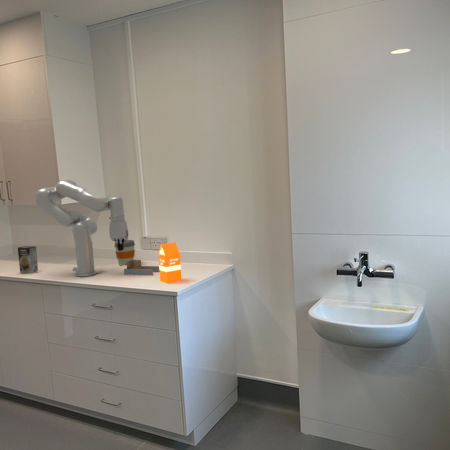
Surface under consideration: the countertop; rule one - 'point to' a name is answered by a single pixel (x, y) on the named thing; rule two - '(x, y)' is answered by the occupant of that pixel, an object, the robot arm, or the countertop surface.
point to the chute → (142, 270)
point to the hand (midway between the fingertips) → (120, 250)
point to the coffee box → (28, 259)
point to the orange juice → (169, 263)
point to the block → (134, 264)
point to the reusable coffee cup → (125, 252)
